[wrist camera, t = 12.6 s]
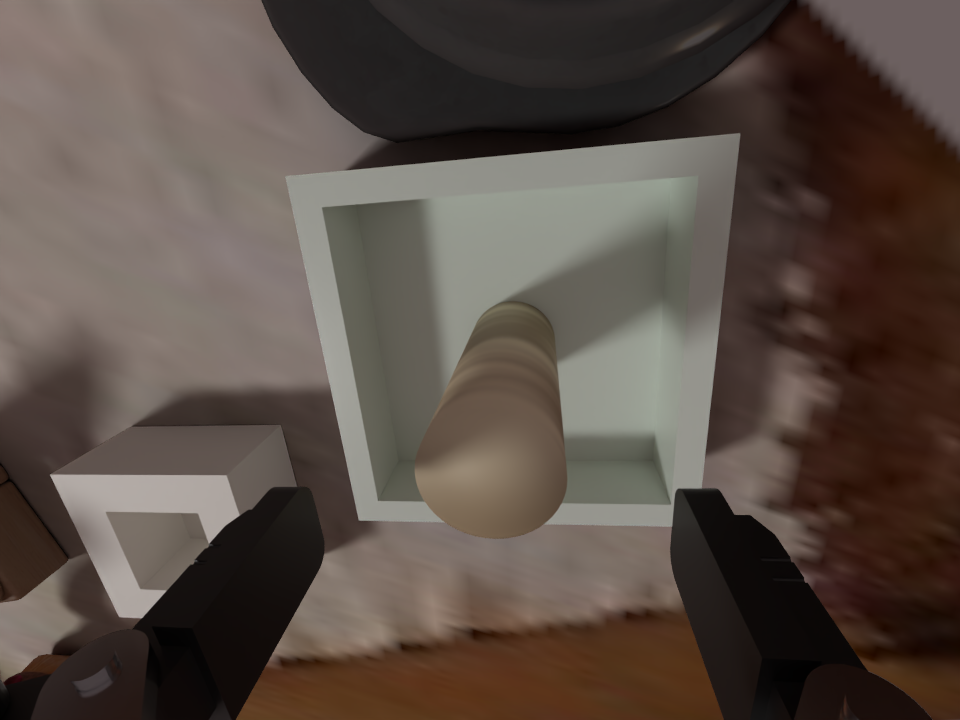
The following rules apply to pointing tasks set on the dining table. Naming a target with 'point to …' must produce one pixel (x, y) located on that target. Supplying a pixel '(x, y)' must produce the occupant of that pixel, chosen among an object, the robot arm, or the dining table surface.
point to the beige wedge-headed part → (23, 545)
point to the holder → (166, 500)
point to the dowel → (498, 430)
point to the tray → (538, 282)
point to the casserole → (511, 59)
